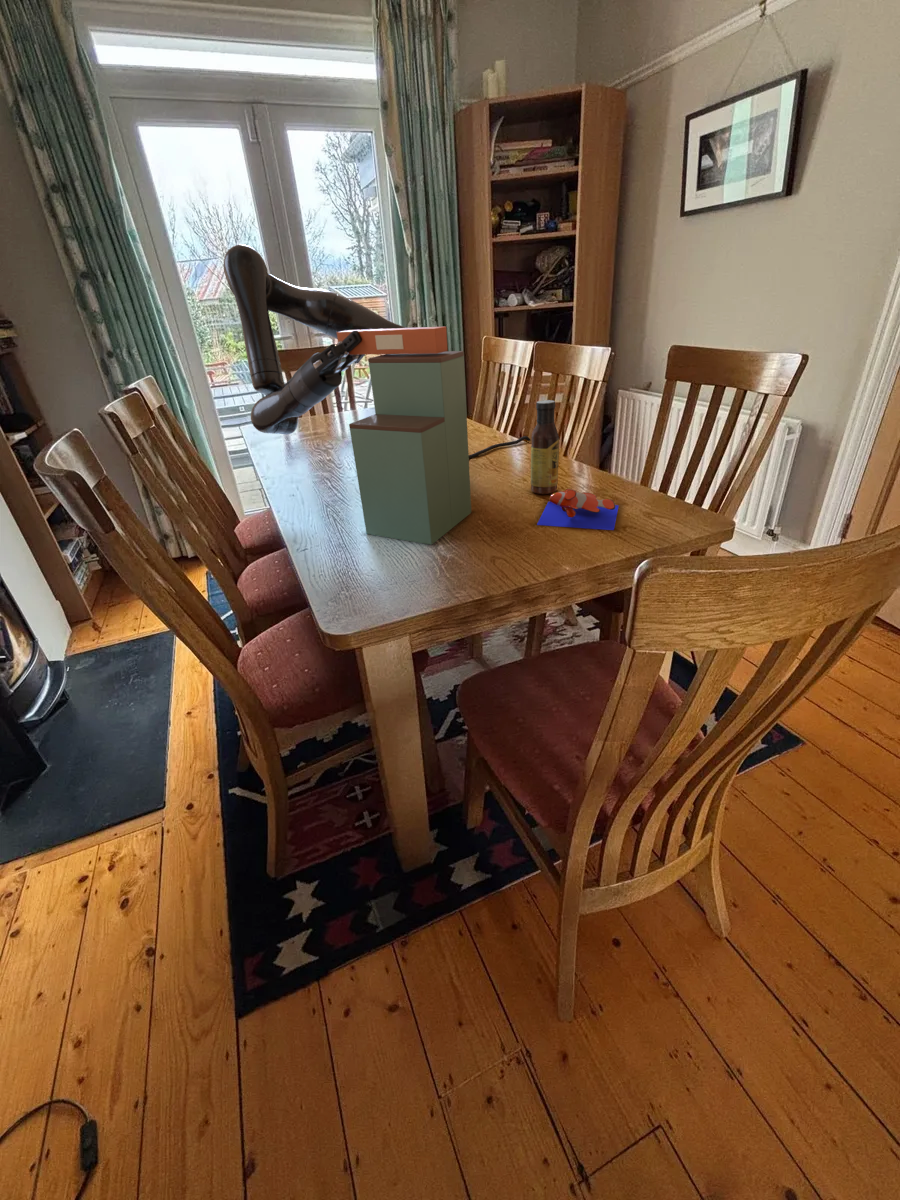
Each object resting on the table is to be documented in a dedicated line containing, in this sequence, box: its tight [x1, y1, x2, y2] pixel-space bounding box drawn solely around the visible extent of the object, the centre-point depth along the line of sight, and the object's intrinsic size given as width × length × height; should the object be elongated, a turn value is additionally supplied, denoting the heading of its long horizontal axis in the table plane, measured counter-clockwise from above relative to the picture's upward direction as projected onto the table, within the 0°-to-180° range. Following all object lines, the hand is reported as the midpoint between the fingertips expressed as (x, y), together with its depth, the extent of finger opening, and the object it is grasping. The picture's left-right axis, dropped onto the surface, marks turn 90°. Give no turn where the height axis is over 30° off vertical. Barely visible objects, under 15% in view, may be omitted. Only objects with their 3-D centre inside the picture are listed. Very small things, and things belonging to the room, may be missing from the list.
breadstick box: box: [337, 326, 449, 355], centre depth 99 cm, size 22×4×4 cm, turn 62°
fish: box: [548, 488, 617, 518], centre depth 108 cm, size 13×5×9 cm
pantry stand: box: [348, 350, 472, 546], centre depth 103 cm, size 16×18×32 cm
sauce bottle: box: [530, 399, 560, 495], centre depth 118 cm, size 7×6×20 cm
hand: (365, 333), depth 101 cm, fingers closed on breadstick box, 4 cm apart
